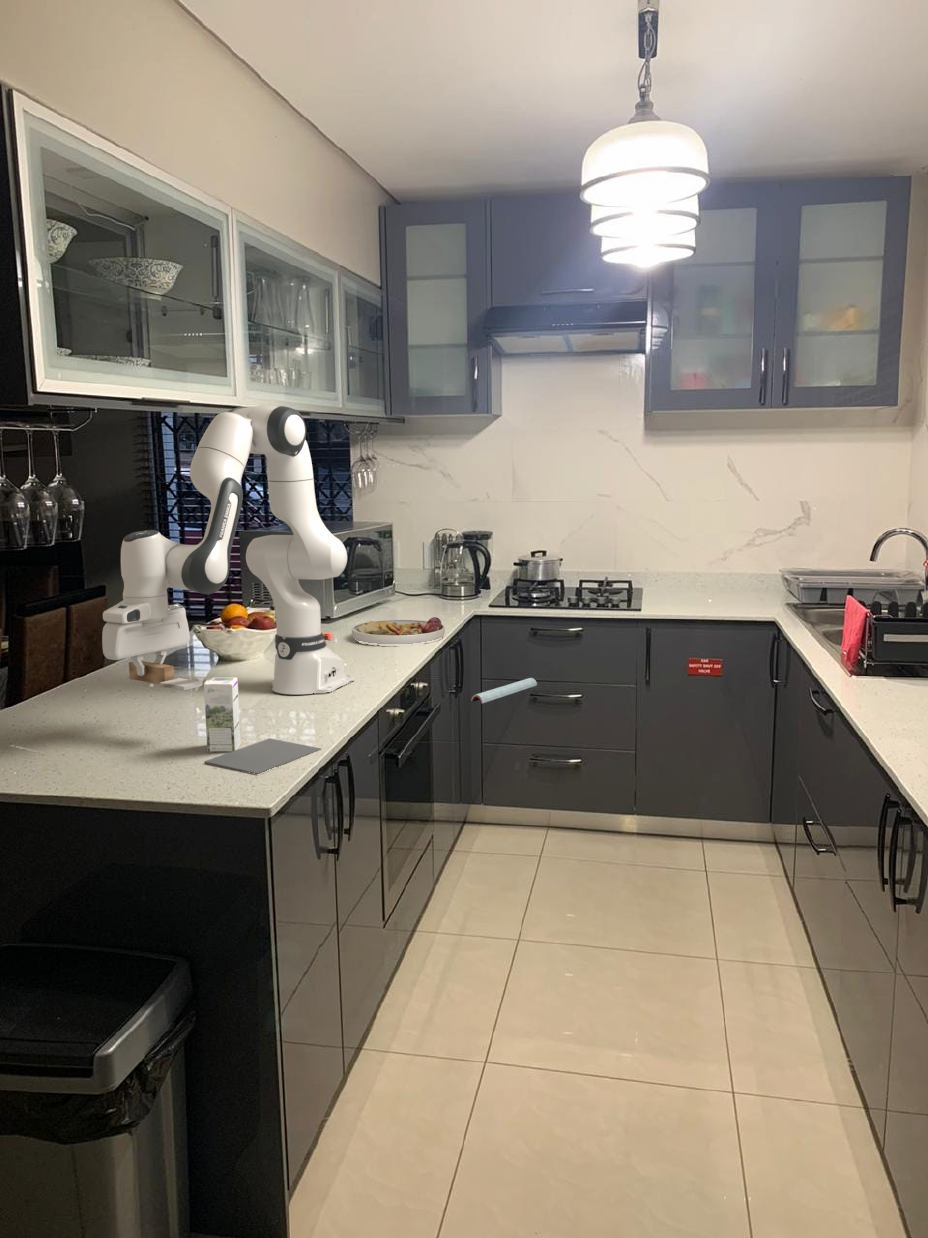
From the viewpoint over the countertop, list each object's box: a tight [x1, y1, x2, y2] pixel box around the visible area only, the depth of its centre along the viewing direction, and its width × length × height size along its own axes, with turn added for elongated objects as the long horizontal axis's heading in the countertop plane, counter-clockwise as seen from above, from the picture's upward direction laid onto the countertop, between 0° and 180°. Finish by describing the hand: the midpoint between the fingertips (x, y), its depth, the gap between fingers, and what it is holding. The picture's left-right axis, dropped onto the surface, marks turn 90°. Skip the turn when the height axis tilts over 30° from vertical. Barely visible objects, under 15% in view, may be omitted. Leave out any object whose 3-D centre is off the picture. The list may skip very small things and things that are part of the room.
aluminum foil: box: [471, 677, 538, 704], centre depth 233 cm, size 23×7×3 cm, turn 141°
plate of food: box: [351, 616, 446, 644], centre depth 308 cm, size 30×30×8 cm
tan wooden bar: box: [128, 660, 204, 691], centre depth 200 cm, size 18×5×4 cm, turn 58°
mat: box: [204, 738, 322, 775], centre depth 187 cm, size 18×14×1 cm
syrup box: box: [203, 676, 241, 754], centre depth 192 cm, size 6×6×14 cm
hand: (150, 673), depth 202 cm, fingers closed on tan wooden bar, 2 cm apart
